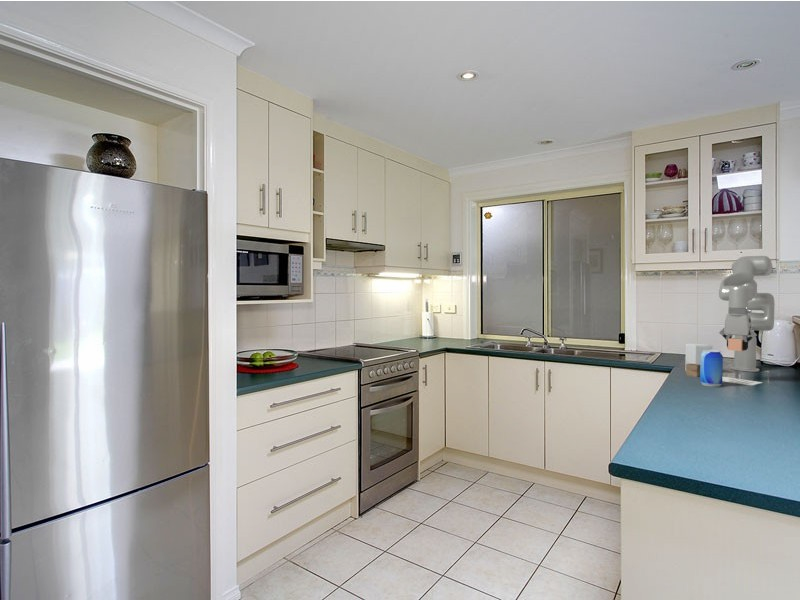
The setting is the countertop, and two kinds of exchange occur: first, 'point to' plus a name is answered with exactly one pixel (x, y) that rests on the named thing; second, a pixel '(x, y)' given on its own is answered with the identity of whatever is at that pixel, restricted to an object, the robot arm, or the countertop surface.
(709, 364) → the beer can
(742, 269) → the robot arm
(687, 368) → the walnut block
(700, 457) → the countertop surface
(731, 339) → the terracotta cube
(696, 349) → the supplement box
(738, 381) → the letter
